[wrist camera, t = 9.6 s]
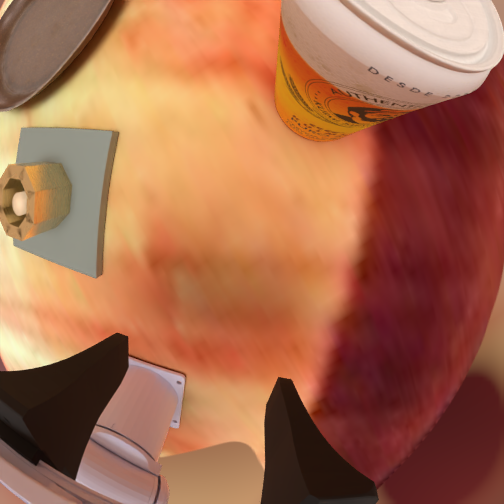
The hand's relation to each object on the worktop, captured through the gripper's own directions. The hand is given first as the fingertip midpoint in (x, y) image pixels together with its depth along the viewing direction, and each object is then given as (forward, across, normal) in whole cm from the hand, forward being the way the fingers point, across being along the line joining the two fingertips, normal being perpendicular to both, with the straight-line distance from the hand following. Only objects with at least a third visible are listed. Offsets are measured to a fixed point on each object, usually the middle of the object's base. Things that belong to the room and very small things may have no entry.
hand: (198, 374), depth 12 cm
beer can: (+10, -3, -15) cm, 18 cm away
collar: (+9, +17, -4) cm, 20 cm away
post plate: (+10, +17, -4) cm, 20 cm away
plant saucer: (+10, +25, -22) cm, 35 cm away
